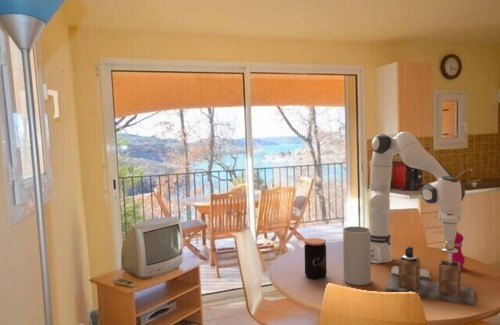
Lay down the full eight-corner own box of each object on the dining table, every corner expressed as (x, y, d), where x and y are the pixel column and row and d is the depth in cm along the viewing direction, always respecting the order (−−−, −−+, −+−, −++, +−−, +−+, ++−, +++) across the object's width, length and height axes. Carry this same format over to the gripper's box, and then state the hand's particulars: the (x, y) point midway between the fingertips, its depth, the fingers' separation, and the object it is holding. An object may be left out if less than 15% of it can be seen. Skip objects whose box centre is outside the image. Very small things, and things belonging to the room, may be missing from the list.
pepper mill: (466, 271, 185) (467, 231, 184) (451, 270, 186) (451, 231, 185) (461, 266, 192) (461, 228, 191) (446, 265, 193) (446, 228, 192)
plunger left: (401, 282, 165) (401, 248, 164) (402, 277, 170) (402, 245, 169) (416, 284, 162) (415, 250, 161) (417, 279, 167) (417, 246, 166)
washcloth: (391, 270, 191) (391, 264, 190) (429, 274, 184) (429, 268, 183) (390, 278, 180) (390, 272, 179) (431, 282, 173) (431, 276, 172)
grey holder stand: (385, 291, 163) (385, 261, 162) (390, 279, 177) (390, 251, 176) (475, 305, 147) (475, 272, 146) (473, 291, 161) (473, 260, 160)
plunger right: (441, 276, 157) (441, 241, 156) (441, 271, 162) (442, 237, 161) (457, 278, 154) (457, 242, 153) (457, 273, 159) (457, 239, 158)
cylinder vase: (367, 287, 168) (366, 234, 166) (340, 283, 174) (339, 231, 173) (373, 278, 178) (373, 228, 177) (348, 274, 185) (347, 225, 183)
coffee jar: (313, 281, 177) (313, 244, 176) (300, 274, 186) (300, 239, 185) (331, 277, 182) (330, 241, 181) (317, 270, 191) (317, 236, 190)
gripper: (441, 209, 167) (442, 239, 168) (440, 218, 149) (440, 252, 150) (457, 210, 164) (457, 241, 165) (458, 220, 146) (458, 254, 147)
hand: (449, 246), depth 157 cm, fingers closed on plunger right, 3 cm apart
